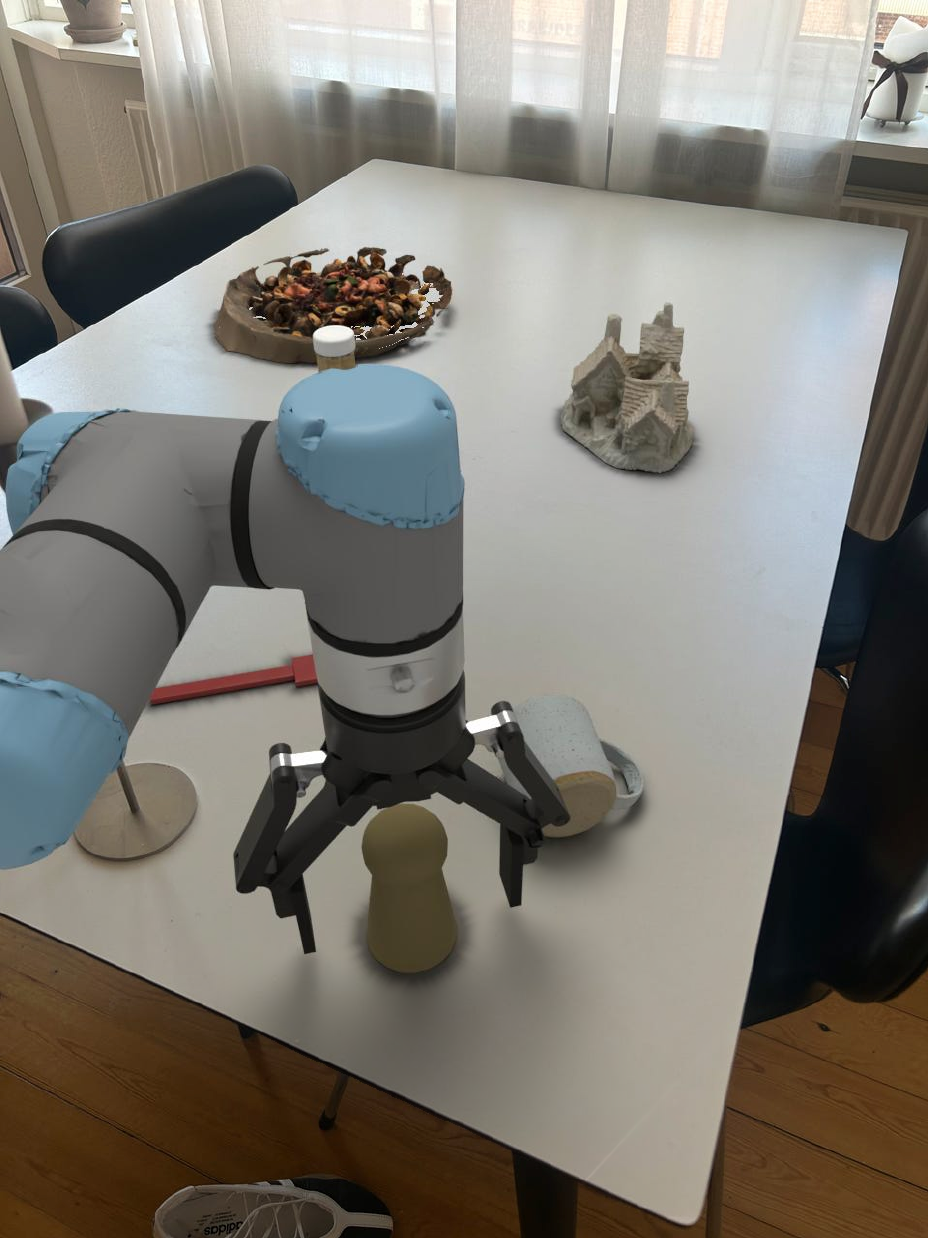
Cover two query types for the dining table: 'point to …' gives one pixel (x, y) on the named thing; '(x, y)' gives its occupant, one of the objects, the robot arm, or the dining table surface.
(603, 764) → the ceramic mug
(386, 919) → the tan peg doll
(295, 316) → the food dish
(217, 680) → the fork
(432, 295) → the dining table surface
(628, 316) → the dining table surface
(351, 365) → the sprinkles bottle
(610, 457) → the ceramic cottage
